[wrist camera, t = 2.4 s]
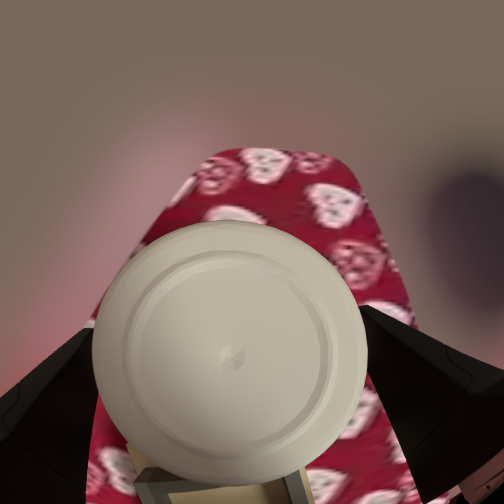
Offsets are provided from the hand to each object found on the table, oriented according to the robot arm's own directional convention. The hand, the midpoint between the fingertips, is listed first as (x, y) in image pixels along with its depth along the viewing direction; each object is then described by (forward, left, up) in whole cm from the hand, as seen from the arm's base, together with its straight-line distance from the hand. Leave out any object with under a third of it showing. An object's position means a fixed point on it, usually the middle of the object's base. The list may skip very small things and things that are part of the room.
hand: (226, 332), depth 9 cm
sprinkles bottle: (-1, 0, -8) cm, 9 cm away
